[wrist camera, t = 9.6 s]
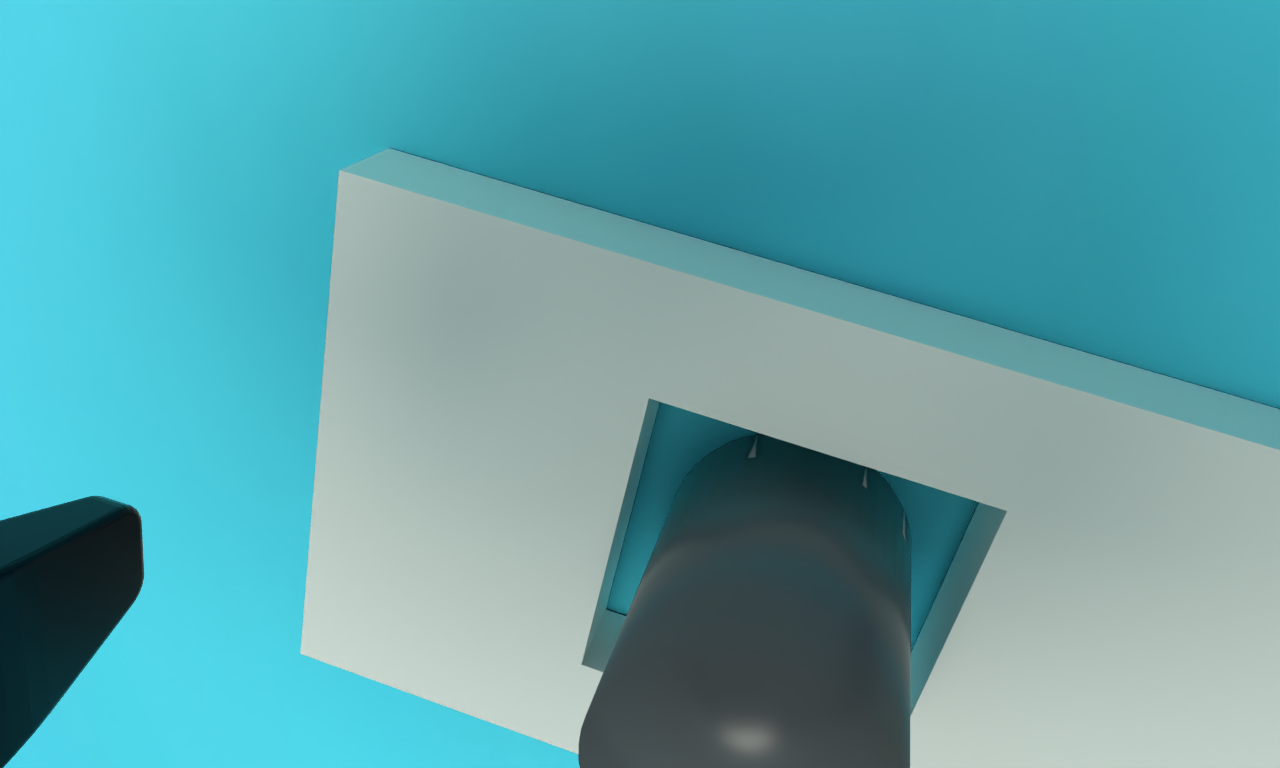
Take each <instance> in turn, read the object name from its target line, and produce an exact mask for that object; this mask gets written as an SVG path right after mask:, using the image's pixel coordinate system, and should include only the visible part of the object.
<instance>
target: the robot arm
mask: <svg viewBox="0 0 1280 768" xmlns="http://www.w3.org/2000/svg"><path fill="white" fill-rule="evenodd" d="M143 579H144V563H143V542H142V522H141V517H140V515H139V513H138V511H137V510H136V509H135V508H133V507H132V506H130V505H127V504H124V503H121V502H118V501H115V500H112V499H109V498H105V497H101V496H90V497H86V498H82V499H78V500H75V501H71V502H67V503H64V504H60V505H56V506H53V507H49V508H45V509H42V510H38V511H34V512H30V513H27V514H23V515H19V516H16V517H12V518H8V519H5V520H1V521H0V768H3V767H4V766H5V765H6V764H7V763H8V762H9V761H10V760H11V758H12V757H13V756H14V755H15V754H16V753H17V752H18V751H19V749H20V748H21V747H22V746H23V745H24V744H25V743H26V741H27V740H28V739H29V738H30V737H31V736H32V735H33V734H34V732H35V731H36V730H37V729H38V727H39V726H40V725H41V724H42V722H43V721H44V720H45V719H46V717H47V716H48V715H49V714H50V713H51V711H52V710H53V709H54V707H55V706H56V705H57V703H58V702H59V701H60V699H61V698H62V697H63V695H64V694H65V693H66V691H67V690H68V689H69V688H70V686H71V685H72V684H73V682H74V681H75V680H76V678H77V677H78V676H79V674H80V673H81V672H82V670H83V669H84V668H85V666H86V665H87V664H88V662H89V661H90V660H91V658H92V657H93V656H94V655H95V653H96V652H97V651H98V649H99V648H100V647H101V645H102V644H103V643H104V641H105V640H106V639H107V637H108V636H109V635H110V633H111V632H112V631H113V629H114V628H115V627H116V625H117V624H118V623H119V622H120V620H121V619H122V618H123V616H124V615H125V614H126V612H127V611H128V610H129V608H130V607H131V606H132V604H133V603H134V601H135V600H136V598H137V596H138V594H139V592H140V590H141V587H142V584H143Z"/></svg>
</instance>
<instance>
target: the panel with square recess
mask: <svg viewBox="0 0 1280 768" xmlns="http://www.w3.org/2000/svg"><path fill="white" fill-rule="evenodd" d="M660 402H662V403H665V404H669V405H672V406H675V407H678V408H681V409H685V410H688V411H691V412H694V413H697V414H700V415H704V416H707V417H710V418H713V419H716V420H719V421H723V422H726V423H729V424H732V425H735V426H739V427H742V428H745V429H748V430H751V431H754V432H758V433H761V434H764V435H767V436H770V437H773V438H777V439H780V440H783V441H786V442H789V443H793V444H796V445H799V446H802V447H805V448H808V449H812V450H815V451H818V452H821V453H824V454H828V455H831V456H834V457H837V458H840V459H843V460H847V461H850V462H853V463H856V464H859V465H862V466H866V467H869V468H872V469H875V470H878V471H882V472H885V473H888V474H891V475H894V476H897V477H901V478H904V479H907V480H910V481H913V482H917V483H920V484H923V485H926V486H929V487H932V488H936V489H939V490H942V491H945V492H948V493H951V494H955V495H958V496H961V497H964V498H967V499H971V500H974V501H977V502H979V503H978V506H977V508H976V510H975V512H974V515H973V517H972V519H971V521H970V523H969V526H968V528H967V530H966V532H965V534H964V537H963V539H962V541H961V543H960V545H959V548H958V550H957V552H956V554H955V556H954V559H953V561H952V563H951V565H950V568H949V570H948V572H947V574H946V576H945V579H944V581H943V583H942V585H941V587H940V590H939V592H938V594H937V596H936V598H935V601H934V603H933V605H932V607H931V609H930V612H929V614H928V616H927V618H926V621H925V623H924V625H923V627H922V629H921V632H920V634H919V636H918V638H917V640H916V643H915V645H914V647H913V649H912V651H911V668H910V768H1280V409H1277V408H1274V407H1271V406H1267V405H1264V404H1260V403H1257V402H1254V401H1250V400H1247V399H1243V398H1240V397H1236V396H1233V395H1230V394H1226V393H1223V392H1219V391H1216V390H1213V389H1209V388H1206V387H1202V386H1199V385H1196V384H1192V383H1189V382H1185V381H1182V380H1178V379H1175V378H1172V377H1168V376H1165V375H1161V374H1158V373H1155V372H1151V371H1148V370H1144V369H1141V368H1137V367H1134V366H1131V365H1127V364H1124V363H1120V362H1117V361H1114V360H1110V359H1107V358H1103V357H1100V356H1097V355H1093V354H1090V353H1086V352H1083V351H1079V350H1076V349H1073V348H1069V347H1066V346H1062V345H1059V344H1056V343H1052V342H1049V341H1045V340H1042V339H1039V338H1035V337H1032V336H1028V335H1025V334H1021V333H1018V332H1015V331H1011V330H1008V329H1004V328H1001V327H998V326H994V325H991V324H987V323H984V322H981V321H977V320H974V319H970V318H967V317H963V316H960V315H957V314H953V313H950V312H946V311H943V310H940V309H936V308H933V307H929V306H926V305H923V304H919V303H916V302H912V301H909V300H905V299H902V298H899V297H895V296H892V295H888V294H885V293H882V292H878V291H875V290H871V289H868V288H865V287H861V286H858V285H854V284H851V283H847V282H844V281H841V280H837V279H834V278H830V277H827V276H824V275H820V274H817V273H813V272H810V271H807V270H803V269H800V268H796V267H793V266H789V265H786V264H783V263H779V262H776V261H772V260H769V259H766V258H762V257H759V256H755V255H752V254H748V253H745V252H742V251H738V250H735V249H731V248H728V247H725V246H721V245H718V244H714V243H711V242H708V241H704V240H701V239H697V238H694V237H690V236H687V235H684V234H680V233H677V232H673V231H670V230H667V229H663V228H660V227H656V226H653V225H650V224H646V223H643V222H639V221H636V220H632V219H629V218H626V217H622V216H619V215H615V214H612V213H609V212H605V211H602V210H598V209H595V208H592V207H588V206H585V205H581V204H578V203H574V202H571V201H568V200H564V199H561V198H557V197H554V196H551V195H547V194H544V193H540V192H537V191H534V190H530V189H527V188H523V187H520V186H516V185H513V184H510V183H506V182H503V181H499V180H496V179H493V178H489V177H486V176H482V175H479V174H476V173H472V172H469V171H465V170H462V169H458V168H455V167H452V166H448V165H445V164H441V163H438V162H435V161H431V160H428V159H424V158H421V157H417V156H414V155H411V154H407V153H404V152H400V151H397V150H394V149H390V148H388V149H386V150H384V151H381V152H379V153H377V154H374V155H372V156H370V157H368V158H365V159H363V160H361V161H359V162H356V163H354V164H352V165H350V166H347V167H345V168H343V169H340V170H339V179H338V191H337V204H336V216H335V229H334V241H333V254H332V266H331V279H330V291H329V304H328V316H327V329H326V341H325V353H324V366H323V378H322V391H321V403H320V416H319V428H318V441H317V453H316V466H315V478H314V491H313V503H312V516H311V528H310V541H309V553H308V566H307V578H306V591H305V603H304V616H303V628H302V641H301V653H300V654H303V655H306V656H308V657H311V658H314V659H317V660H319V661H322V662H325V663H328V664H330V665H333V666H336V667H339V668H341V669H344V670H347V671H350V672H353V673H355V674H358V675H361V676H364V677H366V678H369V679H372V680H375V681H377V682H380V683H383V684H386V685H388V686H391V687H394V688H397V689H399V690H402V691H405V692H408V693H411V694H413V695H416V696H419V697H422V698H424V699H427V700H430V701H433V702H435V703H438V704H441V705H444V706H446V707H449V708H452V709H455V710H457V711H460V712H463V713H466V714H469V715H471V716H474V717H477V718H480V719H482V720H485V721H488V722H491V723H493V724H496V725H499V726H502V727H504V728H507V729H510V730H513V731H516V732H518V733H521V734H524V735H527V736H529V737H532V738H535V739H538V740H540V741H543V742H546V743H549V744H551V745H554V746H557V747H560V748H562V749H565V750H568V751H571V752H574V753H576V754H579V738H580V732H581V727H582V725H583V722H584V719H585V716H586V714H587V711H588V709H589V706H590V704H591V701H592V699H593V696H594V694H595V692H596V689H597V687H598V684H599V682H600V679H601V677H602V674H603V672H604V670H605V667H606V665H607V662H608V660H609V657H610V655H611V653H612V650H613V648H614V645H615V643H616V640H617V638H618V635H619V633H620V631H621V628H622V626H623V623H624V621H625V618H626V616H624V615H621V614H618V613H615V612H612V611H609V610H606V607H607V603H608V599H609V595H610V591H611V588H612V584H613V580H614V576H615V572H616V568H617V564H618V561H619V557H620V553H621V549H622V545H623V541H624V537H625V534H626V530H627V526H628V522H629V518H630V514H631V510H632V507H633V503H634V499H635V495H636V491H637V487H638V484H639V480H640V476H641V472H642V468H643V464H644V460H645V457H646V453H647V449H648V445H649V441H650V437H651V433H652V430H653V426H654V422H655V418H656V414H657V410H658V406H659V403H660Z"/></svg>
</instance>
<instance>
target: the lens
mask: <svg viewBox="0 0 1280 768" xmlns="http://www.w3.org/2000/svg"><path fill="white" fill-rule="evenodd" d="M910 668H911V535H910V529H909V524H908V520H907V517H906V514H905V511H904V509H903V507H902V505H901V503H900V501H899V499H898V497H897V495H896V494H895V492H894V491H893V489H892V488H891V486H890V485H889V484H888V483H887V482H886V480H885V479H884V478H883V477H882V476H881V475H880V474H879V473H878V472H877V471H876V470H875V469H872V468H869V467H866V466H862V465H859V464H856V463H853V462H850V461H847V460H843V459H840V458H837V457H834V456H831V455H828V454H824V453H821V452H818V451H815V450H812V449H808V448H805V447H802V446H799V445H796V444H793V443H789V442H786V441H783V440H780V439H777V438H773V437H770V436H767V435H764V434H760V435H754V436H750V437H745V438H741V439H739V440H736V441H733V442H730V443H728V444H726V445H724V446H722V447H720V448H718V449H716V450H714V451H713V452H711V453H710V454H709V455H707V456H706V457H704V458H703V459H702V460H701V461H700V462H699V463H698V464H697V465H696V466H695V467H693V468H692V470H691V471H690V472H689V474H688V475H687V476H686V477H685V479H684V480H683V482H682V484H681V486H680V488H679V489H678V491H677V494H676V496H675V499H674V501H673V504H672V506H671V509H670V511H669V513H668V516H667V518H666V521H665V523H664V526H663V528H662V530H661V533H660V535H659V538H658V540H657V543H656V545H655V548H654V550H653V552H652V555H651V557H650V560H649V562H648V565H647V567H646V570H645V572H644V574H643V577H642V579H641V582H640V584H639V587H638V589H637V591H636V594H635V596H634V599H633V601H632V604H631V606H630V609H629V611H628V613H627V616H626V618H625V621H624V623H623V626H622V628H621V631H620V633H619V635H618V638H617V640H616V643H615V645H614V648H613V650H612V653H611V655H610V657H609V660H608V662H607V665H606V667H605V670H604V672H603V674H602V677H601V679H600V682H599V684H598V687H597V689H596V692H595V694H594V696H593V699H592V701H591V704H590V706H589V709H588V711H587V714H586V716H585V719H584V722H583V725H582V727H581V732H580V738H579V765H580V768H910Z"/></svg>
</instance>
